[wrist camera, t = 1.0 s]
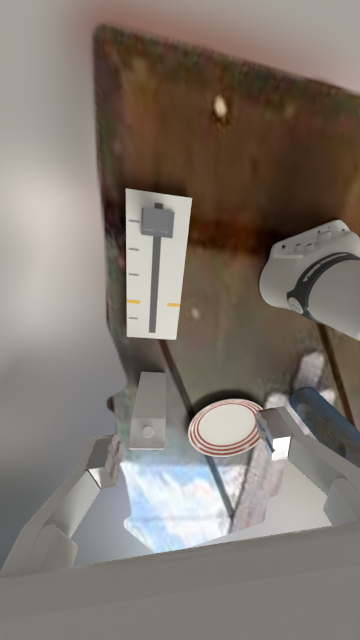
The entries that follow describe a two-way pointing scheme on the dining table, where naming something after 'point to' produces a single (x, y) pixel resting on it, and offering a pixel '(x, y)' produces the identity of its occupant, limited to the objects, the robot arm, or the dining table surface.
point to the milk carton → (149, 412)
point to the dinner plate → (225, 428)
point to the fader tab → (157, 222)
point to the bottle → (327, 424)
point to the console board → (154, 266)
